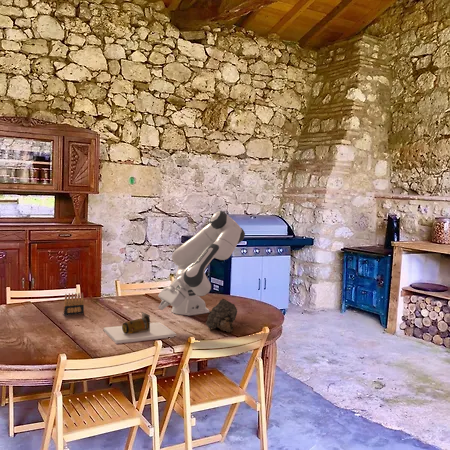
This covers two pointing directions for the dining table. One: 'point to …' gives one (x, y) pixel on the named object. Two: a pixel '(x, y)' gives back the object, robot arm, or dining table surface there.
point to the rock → (222, 316)
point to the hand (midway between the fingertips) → (159, 308)
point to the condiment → (137, 324)
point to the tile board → (139, 333)
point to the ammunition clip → (73, 305)
